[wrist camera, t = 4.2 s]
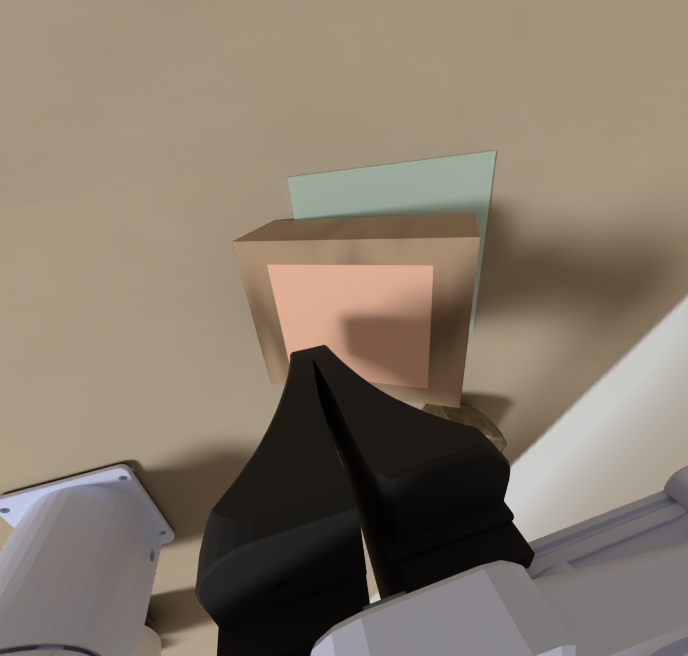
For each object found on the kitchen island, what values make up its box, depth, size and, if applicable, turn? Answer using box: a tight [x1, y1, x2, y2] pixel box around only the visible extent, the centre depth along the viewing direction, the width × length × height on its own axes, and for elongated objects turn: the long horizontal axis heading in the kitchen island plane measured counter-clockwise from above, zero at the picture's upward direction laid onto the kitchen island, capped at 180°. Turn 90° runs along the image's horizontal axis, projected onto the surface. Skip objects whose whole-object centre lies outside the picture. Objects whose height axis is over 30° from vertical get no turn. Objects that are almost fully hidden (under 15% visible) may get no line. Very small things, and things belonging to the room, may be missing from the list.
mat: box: [287, 151, 496, 332], centre depth 20 cm, size 12×12×1 cm
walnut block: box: [232, 213, 480, 408], centre depth 16 cm, size 8×4×10 cm
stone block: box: [422, 404, 506, 452], centre depth 28 cm, size 6×12×5 cm, turn 157°
